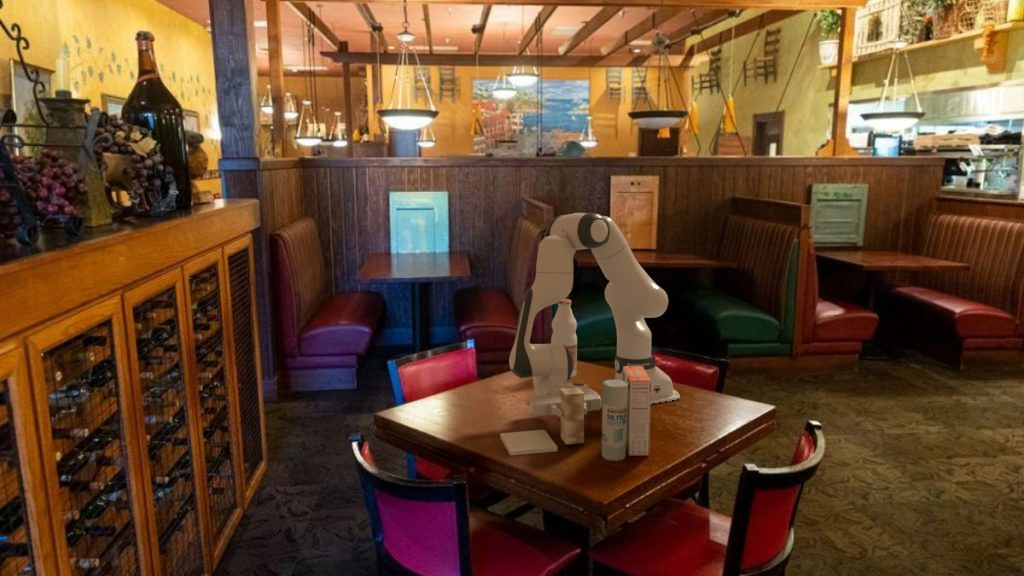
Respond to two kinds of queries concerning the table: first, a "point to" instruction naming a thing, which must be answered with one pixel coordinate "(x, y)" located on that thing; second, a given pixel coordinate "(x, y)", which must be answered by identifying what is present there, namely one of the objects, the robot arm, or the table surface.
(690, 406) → the table surface
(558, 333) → the fruit juice
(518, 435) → the board
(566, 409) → the beech block
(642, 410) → the cracker box
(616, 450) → the spray paint can
